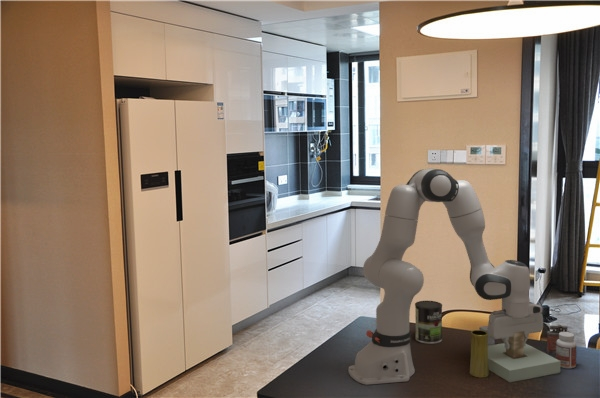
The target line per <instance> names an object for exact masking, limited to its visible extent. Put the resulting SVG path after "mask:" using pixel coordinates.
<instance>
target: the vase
mask: <svg viewBox="0 0 600 398" xmlns="http://www.w3.org/2000/svg"><path fill="white" fill-rule="evenodd" d="M488 346H489V345H488V333H487V332H486V331H483V330H479V329H474V330H472V331H470V363H469V364H470V365H469V374H470V375H471V376H473V377H475V378H480V379H481V378H487V377H488V376H489V375H490V372H489V369H488Z"/></svg>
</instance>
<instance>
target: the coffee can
mask: <svg viewBox="0 0 600 398" xmlns="http://www.w3.org/2000/svg"><path fill="white" fill-rule="evenodd" d="M414 306H415V340H416V341H417V342H419V343H421V344H427V345H430V344H431V345H435V344H439V343H441V342H442V341H443V304H442V303H441V302H439V301H435V300H419V301H416V302H415V303H414Z"/></svg>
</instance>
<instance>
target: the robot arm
mask: <svg viewBox="0 0 600 398" xmlns="http://www.w3.org/2000/svg"><path fill="white" fill-rule="evenodd" d="M425 202H428V203H434V202H435V203H442V204H443V205H444V206H445V208H446V211H447V215H448V218H449V221H450V223H451V226H452V228H453V230H454V232H455V234H456V235H457V236H458V237H459V239H460V240H461V241H462V242H463V245H464V246H465V249H466V250H465V251H466V253H467V257H468V260H469V264H470V270H469V280H470V281H469V282H470V284H471V285H472V286H473V288H474V290H475V292H476V293H477V296H479V298H481V299H483V300H486V301H494V300H495V301H496V300H500V299H501V309H499V310H493V311H492V312H491V313H490V314H489V316H488V324H487V326H488V330H487V333H488V335H489V336H490V337H491V338H493V339H495V340H498V339H499V340H500V339H501V340H502V341H503V343H504V347H505V348H506V349H511V344H510V343H509V342H508V340H509V337H512V336H514V333H517V332H524V346H526V344H527V343H526V342H527V341H528V339H529V337H530V336H529V335H530V334H537V333H541V332H542V331H543V329H544V315H543V314H542V313H543V306H541V305H540V304H536V303H534V302H531V299H530V296H529V293H530V289H531V277H530V276H531V275H530V270H529V269H530V268H529V267H528V266H527V265H526V264H525V263H523V262H521V261H518V260H514V259H507V260H505V261H503V262H502V263H500V264H498V265H497V266H494V264H492V263H491V261H490V260H489V256H488V253H487V251H486V247H485V245H484V241H483V233H484V231H485V228H486V221H485V215H484V211H483V208H482V205H481V201H480V200H479V198H478V195H477V193H476V191H475V189H474V187H473V185H472V183H470V182H469V181H467V180H464V179H457V180H456V179H455V178H454V177H453V176H452V175H451V174H449V172H447V171H445V170H443V169H439V168H429V167H428V168H425V169H420V170H418V171H416V172H415V173H414V174H413V175H412V176H411V178H410V179H409V180H408V181H407V183H406V184H399V185H395V186H394V187H393V188H392V189H391V192H390V195H389V197H388V200H387V204H386V206H385V211H384V213H385V214H384V217H383V218H384V219H383V223H382V230H381V235H380V237H379V242H378V243H377V246H376V247H375V250H374V251H373V253H372V254H371V256H369V257H368V258H366V259H365V261H364V263H363V265H362V266H363V267H362V271H363V276H364V278H365V279H366V280H367V281H369V282H370V283H371V284H372V285H374V286H376V287H377V288H380V289H382V290H383V292H384V294H383V300H382V302H380V303H379V304H378V305H377V306H376V309H375V315H376V316H375V318H376V321H375V322H376V324H375V325H376V329H375V331H374V332H373V331H371V330H367V331H366V336H367V337H368V338H370V339H371V341H369V343H367V345H365V346H364V347H363V348H362V349H361V350H358V352H357V353H356V356H355V358H354V359H355V360H354V364H353V365H350V366H348V369H347V370H348V371H347V373H348V375H350V377H351V378H352V379H353V380H354V381H356V382H357V383H360V384H361V385H367V386H369V385H377V384H389V383H402V382H409V380H410V378H411V377H412V376H413V375H414V374H415V372H416V369H415V367H414V363H413V358H412V351H411V350H412V349H411V344H412V334H411V333H412V332H411V329H410V315H411V314H410V311H411V305H412V301H413V300H414V297H415V296H416V295H418V294H419V293H420V292H421V290H422V288H423V286H424V281H425V278H424V274H423V271H421V269H419V268H418V267H417V266H415V265H413V264H412V263H410V262H408V261H404V260H403V256H404V254H405V253H406V251H407V250H408V248H410V247H412V246H413V245H414V243H415V241H416V234H417V229H418V228H417V227H418V222H419V215H420V210H421V207H422V206H423V204H424V203H425Z"/></svg>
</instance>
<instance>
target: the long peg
mask: <svg viewBox="0 0 600 398" xmlns="http://www.w3.org/2000/svg"><path fill="white" fill-rule="evenodd" d="M508 342H509V343H510V344H511V349H506V355H507V356H509V357H511V358H512V359H517V358H523V354H524V332H517V333H514V336H512V337H509V340H508Z"/></svg>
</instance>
